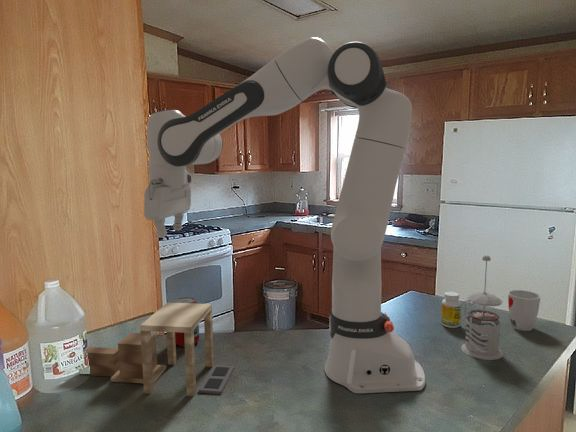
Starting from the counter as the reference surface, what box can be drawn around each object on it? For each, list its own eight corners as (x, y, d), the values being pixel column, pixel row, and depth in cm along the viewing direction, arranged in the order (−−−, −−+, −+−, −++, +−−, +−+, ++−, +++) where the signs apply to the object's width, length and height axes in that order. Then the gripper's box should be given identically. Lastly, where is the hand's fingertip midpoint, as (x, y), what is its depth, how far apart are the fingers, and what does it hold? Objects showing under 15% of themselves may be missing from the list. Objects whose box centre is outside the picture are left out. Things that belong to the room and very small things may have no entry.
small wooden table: (213, 364, 101) (211, 304, 99) (193, 396, 87) (190, 327, 85) (170, 361, 102) (167, 302, 100) (144, 393, 89) (140, 325, 87)
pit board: (234, 368, 99) (234, 365, 99) (221, 394, 88) (221, 390, 88) (214, 367, 99) (213, 364, 99) (198, 392, 89) (198, 389, 88)
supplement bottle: (445, 320, 127) (447, 289, 126) (463, 324, 123) (464, 293, 122) (437, 324, 124) (438, 293, 122) (455, 330, 120) (456, 297, 118)
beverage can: (193, 349, 109) (191, 305, 108) (169, 347, 111) (167, 303, 109) (203, 338, 116) (201, 296, 114) (180, 336, 117) (179, 295, 115)
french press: (483, 363, 100) (489, 261, 97) (447, 344, 111) (451, 252, 107) (512, 355, 104) (518, 257, 101) (474, 337, 115) (478, 248, 111)
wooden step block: (166, 368, 99) (164, 333, 98) (153, 384, 92) (150, 346, 91) (91, 364, 101) (89, 329, 100) (73, 379, 94) (70, 342, 93)
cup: (508, 320, 127) (510, 288, 125) (539, 326, 122) (541, 293, 121) (504, 328, 120) (506, 295, 119) (536, 335, 115) (539, 300, 114)
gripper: (162, 179, 92) (165, 241, 94) (194, 176, 112) (196, 227, 114) (135, 179, 93) (138, 240, 94) (171, 176, 113) (174, 226, 114)
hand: (170, 233), depth 104 cm, fingers open, 8 cm apart
